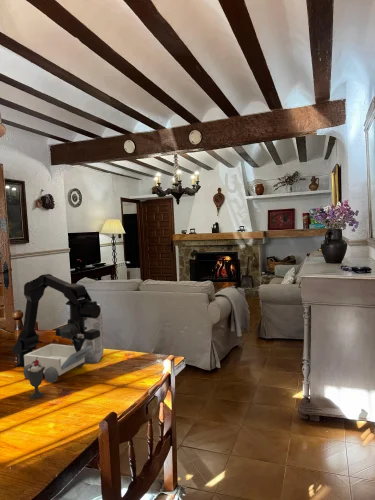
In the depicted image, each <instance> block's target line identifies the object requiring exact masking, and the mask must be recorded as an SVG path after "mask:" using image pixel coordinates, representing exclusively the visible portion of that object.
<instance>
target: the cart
mask: <svg viewBox="0 0 375 500" xmlns="http://www.w3.org/2000/svg"><path fill="white" fill-rule="evenodd" d="M82 349H84V347H82V348H81V350H82ZM32 351H33V352H30V353H28V354H25V355H24V367H23V376H24V377H25V378H26V379H27V380H29V375H28V373H27V372H26V369H27V368H29V367H30V366H31V364H32V363H33V361H35V360H36V359H37V360H38V361H39V362H40V363H41V365H43V366H44V367H45V369H44V370H43V376H44V379H45V380H46V382H48V383H49V384H53V383H55V382H57V381H58V379H59V376H61V375H63V374H65V373H67V372H68V371H70V370H72V369H73V368H81V367H83V366H85V364H86V363H85V357H84V358H83V359H82V360H80V361H78V362H76V363H74V364H72V365H70V366H68V367H67V368H65V369H63V370H62V369H61V366H62V365H63V364H64V363H65V361H66V360H67V359H68V358H69V357H70V355H72V354H74V353H76V350H75V347H74V345H67V344H58V343H49V344H47V345H45V346H41V347H40V348H38V349H37V348H36V349H34V350H32ZM37 357H38V358H37Z"/></svg>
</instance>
